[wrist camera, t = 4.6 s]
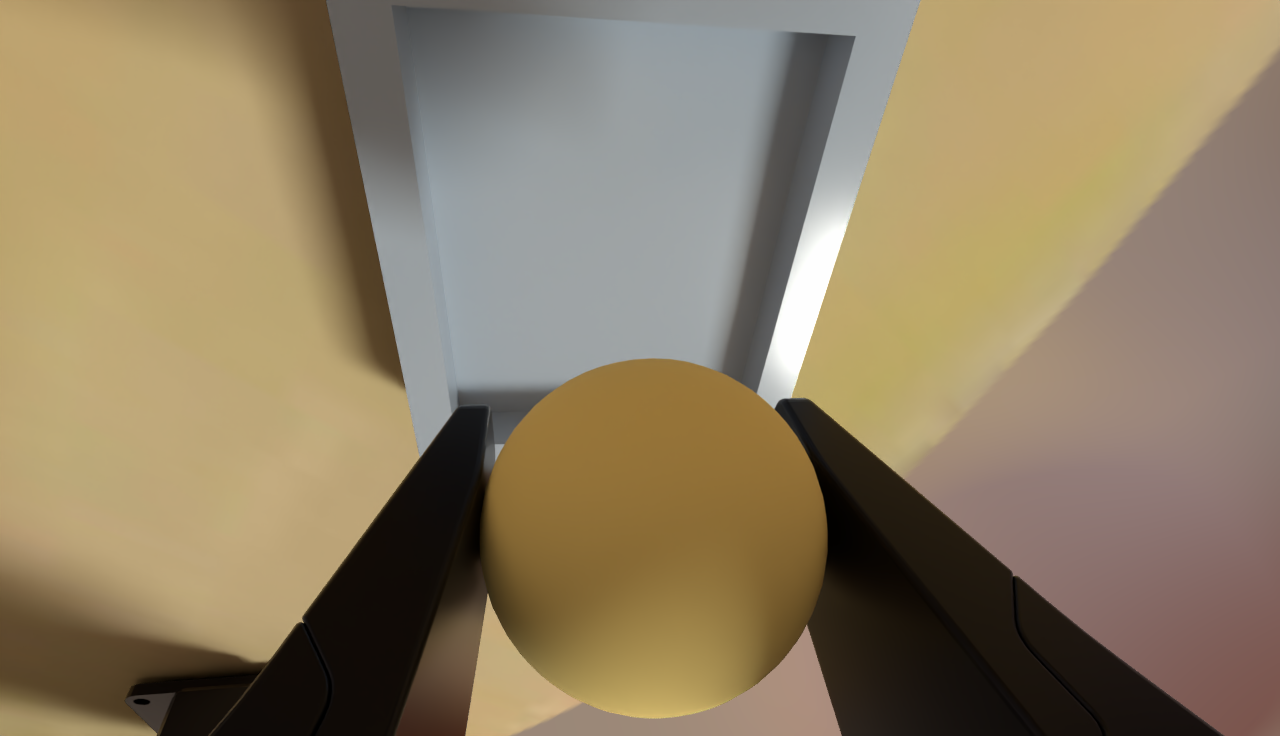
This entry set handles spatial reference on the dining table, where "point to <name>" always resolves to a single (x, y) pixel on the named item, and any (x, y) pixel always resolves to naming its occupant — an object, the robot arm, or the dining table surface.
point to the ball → (653, 538)
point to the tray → (608, 182)
